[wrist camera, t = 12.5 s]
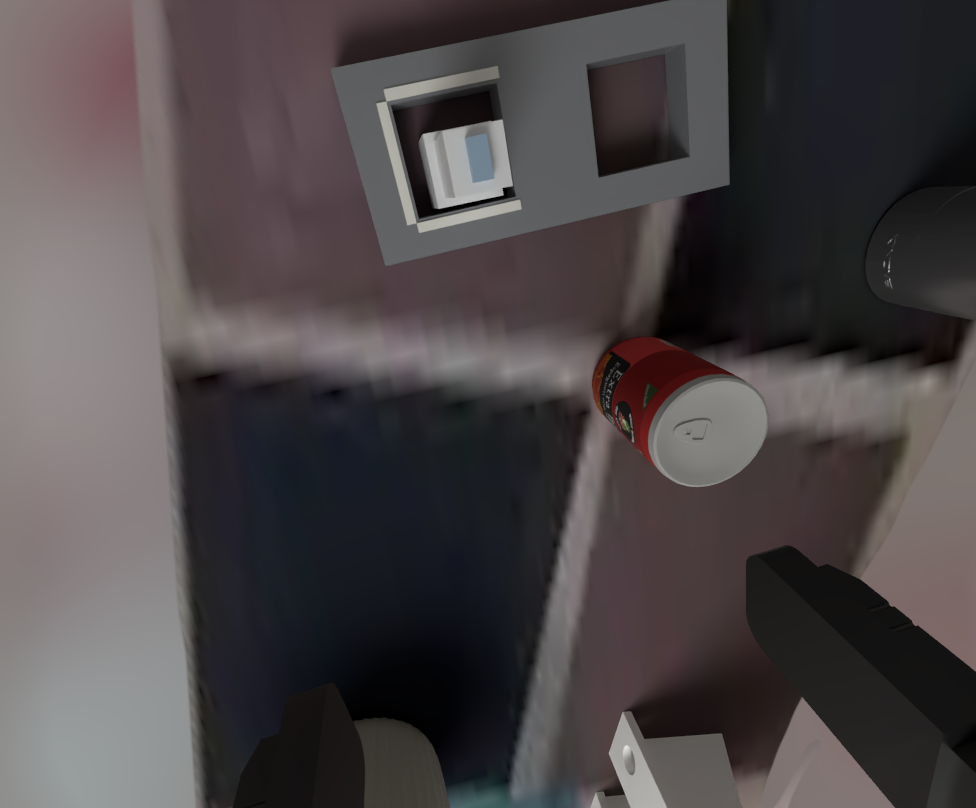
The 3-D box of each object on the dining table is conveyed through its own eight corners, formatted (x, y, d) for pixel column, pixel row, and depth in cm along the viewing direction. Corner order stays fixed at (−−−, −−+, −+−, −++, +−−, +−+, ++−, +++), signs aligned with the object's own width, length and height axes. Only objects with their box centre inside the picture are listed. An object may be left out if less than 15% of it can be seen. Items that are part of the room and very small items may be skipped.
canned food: (583, 345, 40) (649, 393, 30) (678, 323, 41) (773, 363, 31) (593, 431, 43) (655, 501, 33) (681, 409, 44) (768, 471, 34)
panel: (702, 3, 33) (727, -12, 31) (708, 185, 37) (730, 184, 35) (334, 78, 31) (330, 68, 29) (385, 261, 35) (385, 266, 33)
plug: (478, 130, 33) (513, 103, 24) (489, 195, 35) (526, 194, 26) (418, 142, 33) (430, 119, 24) (432, 207, 35) (449, 210, 25)
